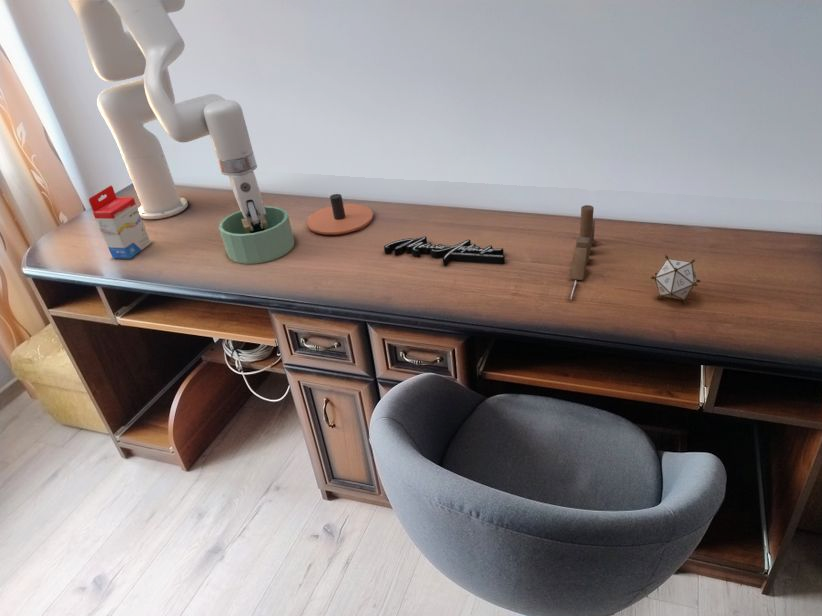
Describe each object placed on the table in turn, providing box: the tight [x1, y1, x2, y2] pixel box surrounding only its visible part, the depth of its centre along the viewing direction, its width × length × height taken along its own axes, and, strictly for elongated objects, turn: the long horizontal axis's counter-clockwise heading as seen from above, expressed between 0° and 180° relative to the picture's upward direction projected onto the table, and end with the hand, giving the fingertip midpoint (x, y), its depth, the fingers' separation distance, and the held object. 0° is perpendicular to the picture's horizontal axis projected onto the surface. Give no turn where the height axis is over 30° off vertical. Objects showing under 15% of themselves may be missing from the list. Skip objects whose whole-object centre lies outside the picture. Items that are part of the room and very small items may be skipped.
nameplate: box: [383, 236, 506, 267], centre depth 138 cm, size 28×2×10 cm
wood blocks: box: [570, 204, 596, 300], centre depth 127 cm, size 25×3×10 cm, turn 164°
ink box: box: [88, 185, 152, 260], centre depth 146 cm, size 8×5×15 cm, turn 168°
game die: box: [650, 254, 701, 305], centre depth 117 cm, size 9×8×10 cm
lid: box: [306, 193, 374, 235], centre depth 154 cm, size 16×16×7 cm
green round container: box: [218, 205, 295, 265], centre depth 145 cm, size 15×15×7 cm
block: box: [241, 215, 269, 234], centre depth 144 cm, size 5×5×5 cm
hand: (259, 239), depth 146 cm, fingers closed on block, 5 cm apart
